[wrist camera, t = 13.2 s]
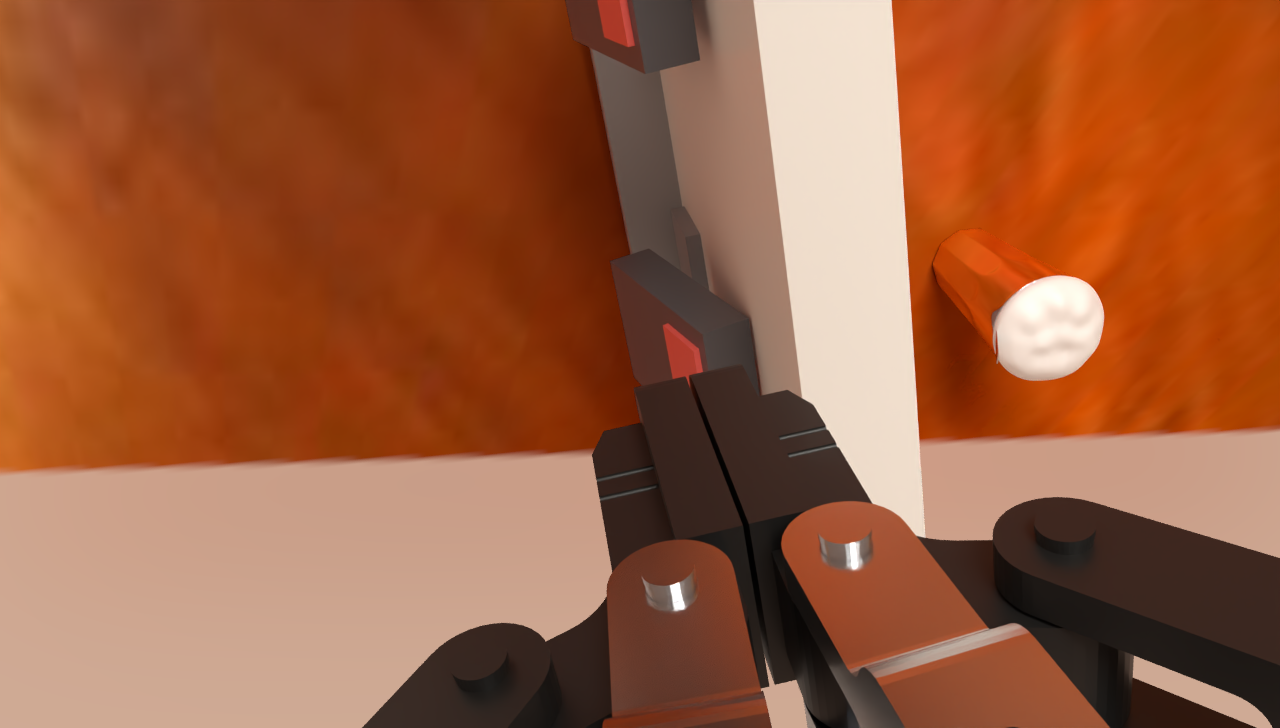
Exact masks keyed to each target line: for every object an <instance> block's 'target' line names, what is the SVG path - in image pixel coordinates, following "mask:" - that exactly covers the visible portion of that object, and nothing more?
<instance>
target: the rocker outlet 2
mask: <svg viewBox="0 0 1280 728" xmlns="http://www.w3.org/2000/svg"><path fill="white" fill-rule="evenodd" d="M610 264H611V269H612V274H613V278H614V283H615V288H616V293H617V298H618V302H619V307H620V312H621V317H622V322H623V326H624V331H625V336H626V341H627V346H628V351H629V355H630V360H631V365H632V370H633V375H634V378H635V379H636V380H637V381H638V382H639V383H640V384H641V385H642V386H644V385H648V384H653V383H657V382H662V381H666V380H671V379H675V378H680V377H684V376H685V377H686V379H687V381H688V384H689V375H692V374H697V373H701V372H705V371H710V370H714V369H719V368H723V367H728V366H732V365H737V364H742V365H743V367H744V369H745V371H746V373H747V375H748V377H749V379H750V381H751V383H752V385H753V387H754V389H755V391H756V393H757V395H758V396H760V393H759V386H758V379H757V372H756V365H755V358H754V352H753V345H752V338H751V331H750V324H749V318H748V317H746V316H745V315H743V314H742V313H741V312H739V311H738V310H736V309H735V308H733V307H732V306H731V305H729V304H728V303H726V302H725V301H723V300H722V299H721V298H719V297H718V296H716V295H715V294H713V293H712V292H711V291H709V290H708V289H706V288H705V287H703V286H702V285H701V284H699V283H698V282H696V281H695V280H693V279H692V278H691V277H689V276H688V275H686V274H685V273H683V272H682V271H680V270H679V269H678V268H676V267H675V266H673V265H672V264H670V263H669V262H668V261H666V260H665V259H663V258H662V257H660V256H659V255H658V254H656V253H655V252H653V251H652V250H650V249H646V250H642V251H639V252H636V253H633V254H630V255H627V256H624V257H621V258H618V259H615V260H612V261H610ZM689 386H690V384H689Z"/></svg>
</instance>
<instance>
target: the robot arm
mask: <svg viewBox="0 0 1280 728" xmlns="http://www.w3.org/2000/svg"><path fill="white" fill-rule="evenodd" d="M689 384H690V386H689ZM689 384H688V381H687V379H686V377H685V376H684V377H680V378H675V379H671V380H666V381H662V382H657V383H653V384H648V385H644V386H639V387H635V388H634V393H635V398H636V403H637V408H638V413H639V418H640V423H638V424H634V425H629V426H625V427H620V428H616V429H611V430H607V431H604V432H603V434H602V436H601V438H600V440H599V442H598V444H597V446H596V448H595V450H594V452H593V454H592V457H593V463H594V468H595V474H596V480H597V485H598V492H599V497H600V503H601V509H602V515H603V520H604V526H605V532H606V537H607V543H608V549H609V555H610V561H611V566H612V574H611V576H610V578H609V581H608V584H607V597H606V599H605V600H604V602H603V603H602V604H601V605H600V607H599V608H598V609H597V610H596V611H595V612H594V613H593V614H592V615H591V616H590V617H588V618H587V619H586V620H584V621H583V622H582V623H580V624H579V625H577V626H575V627H574V628H572V629H570V630H568V631H566V632H564V633H562V634H560V635H558V636H556V637H554V638H552V639H550V640H548V641H546V642H545V640H544V639H543V638H542V637H541V636H540V634H538V633H537V632H535V631H534V630H532V629H530V628H528V627H525V626H522V625H517V624H510V623H497V624H489V625H484V626H479V627H477V628H473V629H470V630H468V631H465V632H463V633H461V634H459V635H457V636H455V637H453V638H452V639H450V640H448V641H447V642H446V643H444V644H443V645H441V646H440V647H439V648H438V649H437V650H436V651H435V652H434V653H433V654H431V655H430V656H429V658H428V659H427V660H426V661H425V662H424V663H423V664H422V665H421V666H420V667H419V668H418V669H417V670H416V671H415V672H414V674H412V676H411V677H410V678H409V679H408V680H407V681H406V682H405V683H404V684H403V685H402V686H401V687H400V688H399V689H398V690H397V692H396V693H395V694H394V695H393V696H392V697H391V698H390V699H389V700H388V701H387V702H386V703H385V704H384V705H383V707H381V708H380V709H379V711H378V712H377V713H376V714H375V715H374V716H373V717H372V718H371V719H370V720H369V721H368V722H367V723H366V724H365V725H364V727H362V728H772V726H771V722H770V717H769V713H768V709H767V705H766V700H765V696H764V693H763V691H761V688H765V687H769V682H768V675H767V670H766V663H765V658H766V661H767V663H768V667H769V669H770V672H771V675H772V678H773V681H774V684H780V683H784V682H788V681H792V680H797V683H798V685H799V688H800V690H801V693H802V695H803V699H804V705H805V713H806V719H807V726H808V728H1256V727H1253V726H1251V725H1248V724H1246V723H1244V722H1241V721H1238V720H1236V719H1234V718H1231V717H1229V716H1226V715H1224V714H1221V713H1219V712H1216V711H1214V710H1211V709H1209V708H1207V707H1204V706H1202V705H1199V704H1196V703H1194V702H1192V701H1189V700H1187V699H1184V698H1182V697H1179V696H1177V695H1174V694H1172V693H1170V692H1167V691H1164V690H1162V689H1160V688H1157V687H1155V686H1152V685H1150V684H1147V683H1145V682H1142V681H1140V680H1137V679H1135V678H1132V677H1133V659H1134V656H1137V657H1140V658H1142V659H1144V660H1147V661H1150V662H1152V663H1155V664H1157V665H1160V666H1162V667H1165V668H1168V669H1170V670H1173V671H1175V672H1178V673H1180V674H1183V675H1186V676H1188V677H1191V678H1193V679H1196V680H1198V681H1201V682H1203V683H1206V684H1208V685H1211V686H1214V687H1216V688H1219V689H1222V690H1224V691H1226V692H1229V693H1232V694H1234V695H1236V696H1239V697H1241V698H1243V699H1244V700H1246V701H1248V702H1249V703H1251V704H1252V705H1253V706H1255V707H1256V708H1257V709H1258V710H1259V711H1260V712H1262V713H1263V715H1264V716H1265V717H1266V718H1267V719H1268V721H1269V722H1270V724H1271V725H1272V727H1273V728H1280V558H1277V557H1274V556H1271V555H1267V554H1264V553H1260V552H1257V551H1254V550H1251V549H1247V548H1244V547H1241V546H1237V545H1234V544H1230V543H1227V542H1224V541H1220V540H1217V539H1213V538H1211V537H1207V536H1204V535H1200V534H1197V533H1194V532H1191V531H1187V530H1184V529H1180V528H1177V527H1174V526H1171V525H1167V524H1164V523H1161V522H1157V521H1154V520H1151V519H1147V518H1144V517H1140V516H1137V515H1134V514H1130V513H1127V512H1123V511H1120V510H1117V509H1114V508H1110V507H1107V506H1104V505H1100V504H1097V503H1093V502H1089V501H1085V500H1081V499H1074V498H1062V497H1053V498H1042V499H1035V500H1031V501H1027V502H1024V503H1022V504H1019V505H1016V506H1014V507H1013V508H1011V509H1009V510H1008V511H1006V512H1005V513H1004V514H1003V515H1002V516H1001V517H1000V518H999V519H998V521H997V522H996V524H995V527H994V529H993V540H981V541H980V540H978V541H977V540H974V541H950V540H936V539H928V538H924V537H920V536H916V535H915V534H914V533H913V531H912V530H911V529H910V527H909V526H908V525H907V524H906V522H905V521H904V520H903V519H902V518H901V517H900V516H898V515H897V514H895V513H894V512H893V511H891V510H889V509H886V508H884V507H881V506H878V505H875V504H873V503H872V502H871V500H870V498H869V497H868V495H867V493H866V492H865V490H864V488H863V487H862V485H861V483H860V482H859V480H858V478H857V477H856V475H855V473H854V472H853V470H852V468H851V467H850V465H849V463H848V462H847V460H846V458H845V457H844V455H843V453H842V452H841V450H840V448H839V447H837V445H836V442H835V440H834V438H833V437H832V435H831V433H830V432H829V430H827V429H826V425H825V423H824V422H823V420H822V418H821V417H820V415H819V413H818V412H817V410H816V408H815V407H814V405H813V404H811V403H810V402H808V401H806V400H804V399H803V398H801V397H799V396H797V395H796V394H794V393H792V392H790V391H789V390H783V391H779V392H775V393H770V394H766V395H761V396H758V395H757V393H756V391H755V389H754V387H753V385H752V383H751V381H750V379H749V377H748V375H747V373H746V371H745V369H744V367H743V365H742V364H737V365H732V366H728V367H723V368H719V369H714V370H710V371H705V372H701V373H697V374H692V375H689ZM764 655H765V657H764Z"/></svg>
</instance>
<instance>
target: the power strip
mask: <svg viewBox="0 0 1280 728" xmlns="http://www.w3.org/2000/svg"><path fill="white" fill-rule="evenodd" d="M691 2H692V8H693V15H694V22H695V28H696V35H697V42H698V48H699V55H700V61H696V62H692V63H688V64H684V65H680V66H676V67H672V68H668V69H664V70H660V71H656V72H652V73H648V74H644V73H642V72H640V71H637V70H635V69H633V68H631V67H629V66H627V65H625V64H623V63H621V62H619V61H617V60H614V59H612V58H610V57H608V56H606V55H604V54H602V53H600V52H598V51H596V50H593V49H591V48H590V53H591V58H592V63H593V68H594V73H595V78H596V83H597V88H598V93H599V98H600V103H601V108H602V113H603V119H604V124H605V129H606V134H607V139H608V144H609V149H610V154H611V159H612V164H613V169H614V174H615V179H616V184H617V189H618V195H619V200H620V205H621V210H622V215H623V220H624V225H625V230H626V235H627V240H628V245H629V250H630V254H633V253H636V252H639V251H642V250H646V249H650V250H652V251H653V252H655V253H656V254H658V255H659V256H660V257H662V258H663V259H665V260H666V261H668V262H669V263H670V264H672V265H673V266H675V267H676V268H678V269H679V270H680V271H682V272H683V273H685V274H686V275H688V276H689V277H691V278H692V279H693V280H695V281H696V282H698V283H699V284H701V285H702V286H703V287H705V288H706V289H708V290H709V291H711V292H712V293H713V294H715V295H716V296H718V297H719V298H721V299H722V300H723V301H725V302H726V303H728V304H729V305H731V306H732V307H733V308H735V309H736V310H738V311H739V312H741V313H742V314H743V315H745V316H746V317H748V318H749V324H750V331H751V338H752V345H753V352H754V358H755V365H756V372H757V379H758V386H759V393H760V396H761V395H766V394H770V393H775V392H779V391H783V390H789V391H790V392H792V393H794V394H796V395H797V396H799V397H801V398H803V399H804V400H806V401H808V402H810V403H811V404H813V405H814V407H815V408H816V410H817V412H818V413H819V415H820V417H821V418H822V420H823V422H824V423H825V425H826V429H827V430H829V432H830V433H831V435H832V437H833V438H834V440H835V442H836V445H837V447H839V448H840V450H841V452H842V453H843V455H844V457H845V458H846V460H847V462H848V463H849V465H850V467H851V468H852V470H853V472H854V473H855V475H856V477H857V478H858V480H859V482H860V483H861V485H862V487H863V488H864V490H865V492H866V493H867V495H868V497H869V498H870V500H871V502H872V503H873V504H875V505H878V506H881V507H884V508H886V509H889V510H891V511H893V512H894V513H895V514H897V515H898V516H900V517H901V518H902V519H903V520H904V521H905V522H906V524H907V525H908V526H909V527H910V529H911V530H912V531H913V533H914V534H915V535H916V536H920V537H924V538H925V526H924V525H925V524H924V509H923V493H922V479H921V478H922V477H921V463H920V445H919V429H918V414H917V398H916V382H915V366H914V350H913V334H912V319H911V303H910V287H909V271H908V255H907V239H906V224H905V208H904V192H903V176H902V160H901V145H900V129H899V113H898V97H897V81H896V65H895V50H894V34H893V18H892V2H891V0H691Z"/></svg>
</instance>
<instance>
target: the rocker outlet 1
mask: <svg viewBox="0 0 1280 728" xmlns="http://www.w3.org/2000/svg"><path fill="white" fill-rule="evenodd" d="M565 2H566V7H567V11H568V16H569V21H570V26H571V31H572V36H573V40H575V41H577V42H579V43H581V44H583V45H585V46H587V47H589V48H591V49H593V50H596V51H598V52H600V53H602V54H604V55H606V56H608V57H610V58H612V59H614V60H617V61H619V62H621V63H623V64H625V65H627V66H629V67H631V68H633V69H635V70H637V71H640V72H642V73H644V74H648V73H652V72H656V71H660V70H664V69H668V68H672V67H676V66H680V65H684V64H688V63H692V62H696V61H700V55H699V48H698V42H697V35H696V28H695V22H694V15H693V8H692V2H691V0H565Z"/></svg>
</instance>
